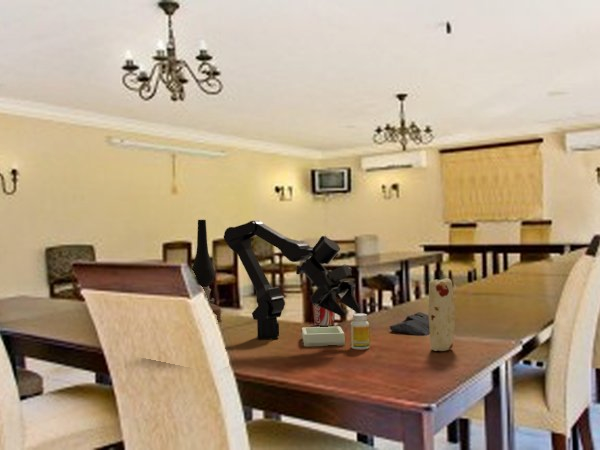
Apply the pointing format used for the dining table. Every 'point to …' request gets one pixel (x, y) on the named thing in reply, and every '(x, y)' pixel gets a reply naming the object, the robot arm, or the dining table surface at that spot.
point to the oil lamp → (204, 265)
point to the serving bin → (323, 336)
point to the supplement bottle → (360, 332)
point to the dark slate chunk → (413, 325)
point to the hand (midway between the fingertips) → (352, 313)
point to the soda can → (323, 316)
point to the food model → (441, 314)
